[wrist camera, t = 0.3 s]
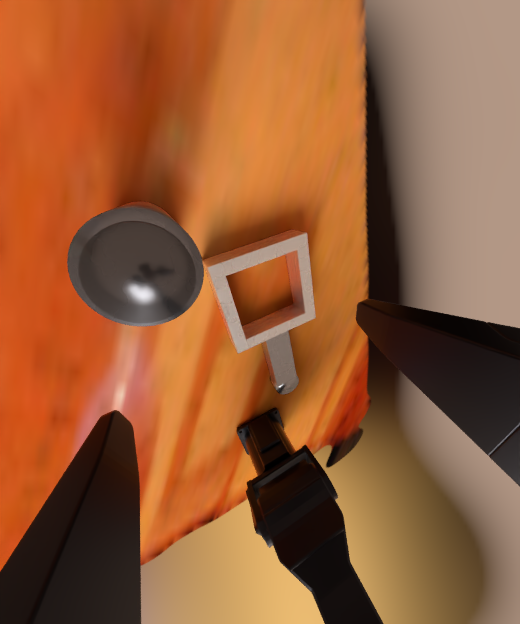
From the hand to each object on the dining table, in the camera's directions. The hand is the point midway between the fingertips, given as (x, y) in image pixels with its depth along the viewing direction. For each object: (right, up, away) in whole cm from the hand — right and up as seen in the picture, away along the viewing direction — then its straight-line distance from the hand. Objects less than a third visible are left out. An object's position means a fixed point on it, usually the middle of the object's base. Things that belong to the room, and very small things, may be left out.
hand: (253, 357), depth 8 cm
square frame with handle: (+1, 0, +18) cm, 19 cm away
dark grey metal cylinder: (-9, +8, +10) cm, 15 cm away
